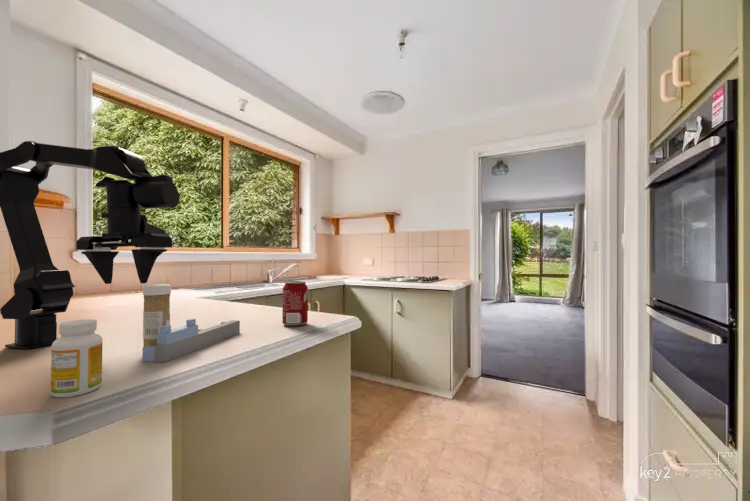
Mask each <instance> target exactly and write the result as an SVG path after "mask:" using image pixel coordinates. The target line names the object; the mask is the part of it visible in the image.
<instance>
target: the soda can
mask: <svg viewBox="0 0 750 501" xmlns="http://www.w3.org/2000/svg"><path fill="white" fill-rule="evenodd" d="M284 283H285V284H284V285H283V287H282V315H281V316H282V318H281V319H282V322H281V323H282V324H283V325H285V326H286V327H289V326H298V327H300V326H299V325H303V324H304V325H305V324H307V323H308V317H309V316H308V313H309V312H308V311H309V310H308V307H309V306H308V305H309V304H308V302H309V296H308V295H309V287H308V286H307V284H306V281H305V280H286V281H285V282H284ZM304 325H303V326H304Z"/></svg>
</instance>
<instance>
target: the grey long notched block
mask: <svg viewBox="0 0 750 501" xmlns="http://www.w3.org/2000/svg"><path fill="white" fill-rule="evenodd" d="M185 322H186V325H183V326H179V327H176V328H175V327H174V328H172V325H171V324H170V325H166V326H162V327H160V333H157V345H155V346H145V347H144V346H142V357H141V358H142V362H147V363H150V362H152V363H162V364H164V363H168V362H170V361H172V360H174V359H177V358H179V357H182V356H184V355H187V354H190V353H193V352H195V351H197V350H199V349H202V348H205V347H207V346H209V345H212V344H214V343H218V342H220V341H223V340H225V339H227V338H230V337H232V336H235V335H237V334H240V330H241V328H240V327H241V326H240V324H241V323H240V322H241V321H240V320H238V319H237V320H236V319H233V320H229V321H222V322H220V324H217V325H213V326H210V327H206V328H200V329H199V324H197V323H196V322H197V319H196V318H189V319H186V321H185Z"/></svg>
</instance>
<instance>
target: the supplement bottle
mask: <svg viewBox="0 0 750 501" xmlns="http://www.w3.org/2000/svg"><path fill="white" fill-rule="evenodd" d="M97 321H98V320H97V319H94V318H93V319H91V318H90V319H89V318H88V319H86V318H85V319H76V320H75V319H74V320H68V321H63V322H60V323H59V324H58V335H60V337H58V338H59V339H57V340H55V341H54V342H53V343H52V344H51V351H50V352H51V356H50V357H51V358H50V359H51V362H50V366H51V367H50V370H51V371H50V395H51V396H52V397H55V398H71V397H78V396H81V395H84V394H88V393H90V392H93V391H95V390H97V389H98V388H100V387H101V386H102V384H103V383H102V382H103V337H102V335H100V334H99V333H95V331H97V327H98V323H97Z"/></svg>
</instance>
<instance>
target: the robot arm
mask: <svg viewBox="0 0 750 501" xmlns="http://www.w3.org/2000/svg"><path fill="white" fill-rule="evenodd" d="M30 161H31V162H35V165H34V166H33V167H31V168H27V167H23V166H20V165H24V164H26V163H29V162H30ZM53 165H55V166H63V167H70V168H71V167H72V168H79V169H86V170H96V171H98V172H99V171H100V172H102V173H105V174H109V175H112V176H116V177H118V178H123V179H115V178H114V177H109V176H104V177H103V178H102V179H101V180H99V181H98V182H96V183H95V187H96V188H100V189H104V190H106V212H102V213H101V215H100V216H101V217H100V218H101V219H104V220H106V231H107V232H104V233H103V232H102V233H101V236H99V235H98V236H97V235H96V236H94V235H91V236H90V235H89V236H80V237H79V238H77V240H76V244H75V245H76V246H75V247H76V248H75V249H76V251H81V254H82V255H84V256H85V257H86V258H87V259H88V261H89V262H90V263H91V265H92V266H93V267H94V269H95V270H96V272H97V274H98V275H99V276H100V278H101V280H102V282H103V283H104V284H105V285H111V284H112V282H113V281H112V280H113V275H114V261H115V260H114V259H115V258H116V256H118V254H119V253H120V251H119V250H118V251H117V249H118V248H125V247H126V248H127V247H134V248H137V249H131V254H132V258H133V261H134V265H135V269H136V272H137V277H138V280H139V283H140V284H147V283H148V281H149V278H150V274H151V272H152V270H153V266H154V265H155V263H156V260H157V258H159V256H161V254H163V253H165V252H167V251H168V249H166V248H173V239H172V237H171V236H170V235H169V234H167V232H166V231H165V230H164V229H162V228H160V227H158V226H156V225H154V224H151V223H148V217H147V215H146V214H142V208H144V209H146V210H148V209H149V210H151V209H171V208H173V209H174V208H176V207H177V206H179V203H180V199H181V197H180V196H181V195H180V193H179V189H178V187H177V186H176V184H175V183H174V180H173V179H174V178H173V176H171V175H168V174H159V175H153V174H152V173H151V172H150V171H149V170H148V168H147V167H146V163H145V160H144V159H143V156H140V155H138V154H136V153H134V152H131V151H129V150H127V149H124V148H121V147H118V146H115V145H107V146H104V145H102V146H97V147H95V148H80V147H72V146H64V145H55V144H49V143H48V144H47V143H40V142H36V141H32V140H25V141H23V142H21V143H20V144H18V146H16V147H15V148H14V147H13V148H12V149H7V150H5V151H0V210H1V214H2V217H3V220H4V224H5V227H6V230H7V232H8V236H9V239H10V243H11V245H12V249H13V252H14V254H15V258H16V261H17V264H18V268H19V273H18V275H17V277H16V278H15V280H14V283H13V291H14V294H13V295H12V296H11V298H10V299H8V300H7V301H6V302H5V303H4V305H2V306H1V307H0V314H1V317H2V319H3V320H14V342H13V343H8V344H5V345H4V348H10V349H24V350H25V349H26V350H31V349H36V348H41V347H44V346H49V345H52V343H53V342H54V341H55V340H57V339H59V338H60V337H58V334H57V333H58V322H57V314H59V313H66V312H67V309H68V307H69V304H70V301H71V299H72V298H73V296H74V290H73V288H75V287H76V286H75V284H74V283H73V281H72V278H71V273H70V271H69V270H68V269H58V267H56V266H55V265H54V263H53V261H52V258H51V254H50V251H49V248H48V244H47V241H46V239H45V235H44V232H43V229H42V226H41V222H40V220H39V216H38V213H37V210H36V206H35V201H36V200H37V197H38V195H39V194H40V188H39V184H41V183H43V182H44V181H45V180H46V179H47V178H48V176H49V171H50V168H51V167H52V166H53ZM131 181H134V183H133V182H131ZM129 240H130V241H129Z"/></svg>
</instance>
